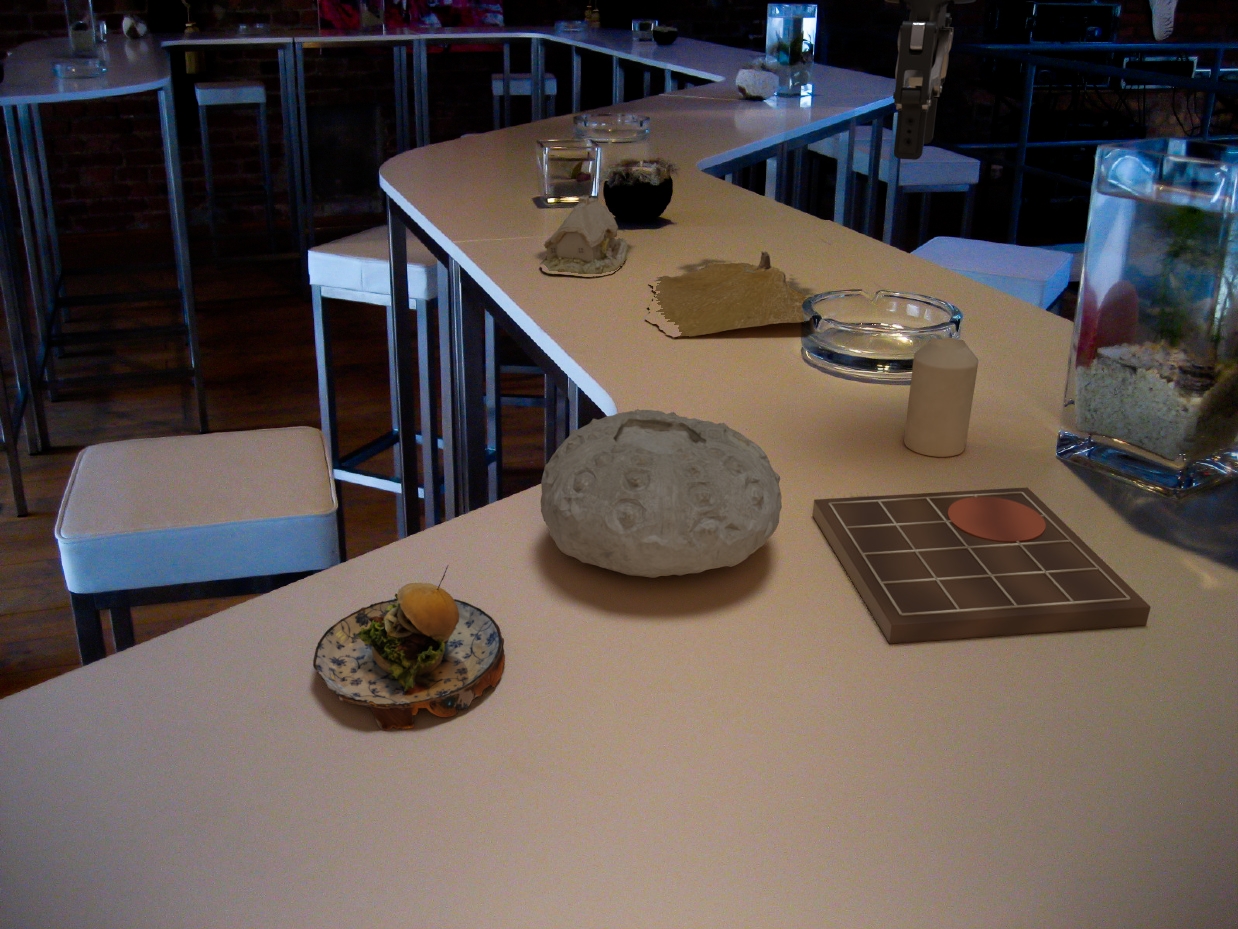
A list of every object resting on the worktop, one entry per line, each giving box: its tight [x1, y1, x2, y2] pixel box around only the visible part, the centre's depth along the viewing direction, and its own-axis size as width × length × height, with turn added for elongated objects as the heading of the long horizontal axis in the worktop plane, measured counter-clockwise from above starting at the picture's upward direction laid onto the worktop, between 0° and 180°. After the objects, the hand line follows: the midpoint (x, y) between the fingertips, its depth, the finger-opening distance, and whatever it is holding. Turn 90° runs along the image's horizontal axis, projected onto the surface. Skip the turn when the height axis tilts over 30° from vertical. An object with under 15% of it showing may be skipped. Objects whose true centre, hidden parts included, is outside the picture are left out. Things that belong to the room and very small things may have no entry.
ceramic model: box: [540, 194, 629, 274], centre depth 154 cm, size 14×11×10 cm
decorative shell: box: [540, 408, 783, 579], centre depth 80 cm, size 18×18×10 cm
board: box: [812, 486, 1151, 645], centre depth 80 cm, size 18×18×2 cm
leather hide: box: [654, 251, 808, 337], centre depth 138 cm, size 29×26×5 cm
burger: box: [312, 565, 506, 731], centre depth 67 cm, size 12×12×8 cm
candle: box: [903, 337, 979, 458], centre depth 98 cm, size 6×6×10 cm
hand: (913, 150), depth 91 cm, fingers open, 8 cm apart
